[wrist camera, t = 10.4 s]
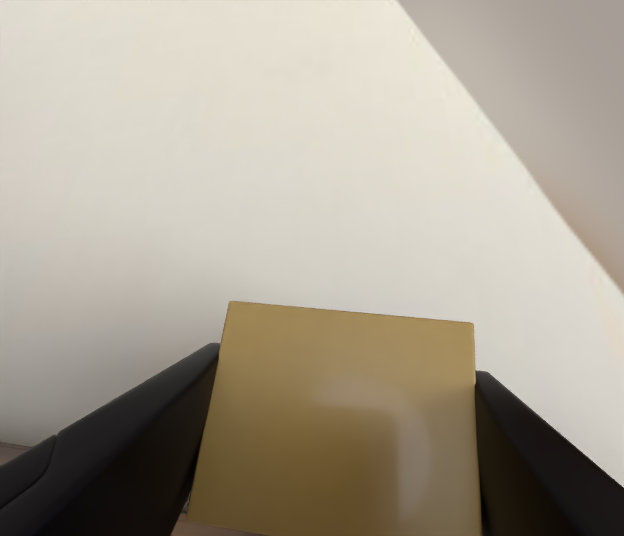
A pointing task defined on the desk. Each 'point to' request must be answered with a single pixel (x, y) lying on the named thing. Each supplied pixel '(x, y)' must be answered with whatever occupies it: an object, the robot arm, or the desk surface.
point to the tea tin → (340, 426)
